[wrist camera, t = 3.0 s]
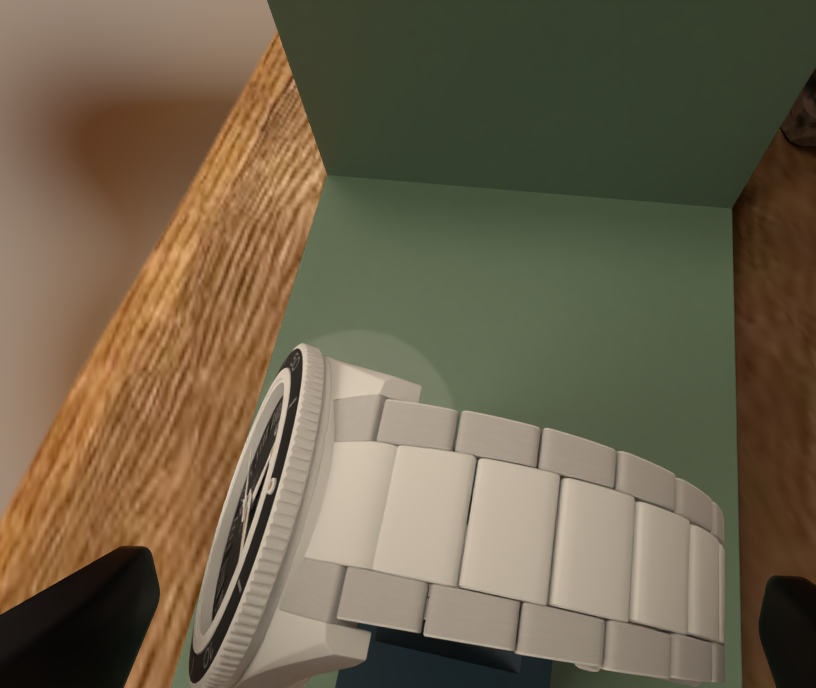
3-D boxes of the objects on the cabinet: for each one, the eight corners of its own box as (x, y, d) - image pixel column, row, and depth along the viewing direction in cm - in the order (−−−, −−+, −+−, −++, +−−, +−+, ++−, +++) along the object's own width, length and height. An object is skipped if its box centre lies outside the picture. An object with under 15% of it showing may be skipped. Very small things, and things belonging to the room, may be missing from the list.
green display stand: (740, 888, 13) (1038, 1191, 6) (162, 734, 16) (-104, 821, 9) (727, 168, 21) (852, -67, 14) (341, 140, 24) (279, -71, 17)
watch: (339, 455, 18) (165, 247, 8) (622, 505, 17) (828, 324, 7) (288, 665, 16) (-38, 727, 6) (608, 744, 14) (881, 998, 5)
